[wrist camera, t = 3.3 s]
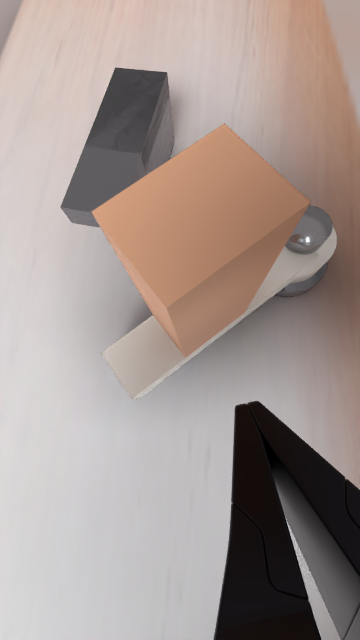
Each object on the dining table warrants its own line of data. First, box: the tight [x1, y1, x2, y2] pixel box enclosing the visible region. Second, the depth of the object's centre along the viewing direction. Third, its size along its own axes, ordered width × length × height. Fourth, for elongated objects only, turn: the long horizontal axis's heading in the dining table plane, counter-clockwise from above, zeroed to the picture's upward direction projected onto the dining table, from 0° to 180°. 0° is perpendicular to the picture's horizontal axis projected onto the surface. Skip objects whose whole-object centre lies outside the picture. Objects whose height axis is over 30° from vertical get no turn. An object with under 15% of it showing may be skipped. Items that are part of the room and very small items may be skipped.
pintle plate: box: [275, 206, 333, 297], centre depth 16 cm, size 5×5×4 cm
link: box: [92, 123, 337, 399], centre depth 11 cm, size 15×4×11 cm, turn 127°
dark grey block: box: [61, 68, 174, 228], centre depth 18 cm, size 4×11×5 cm, turn 167°
